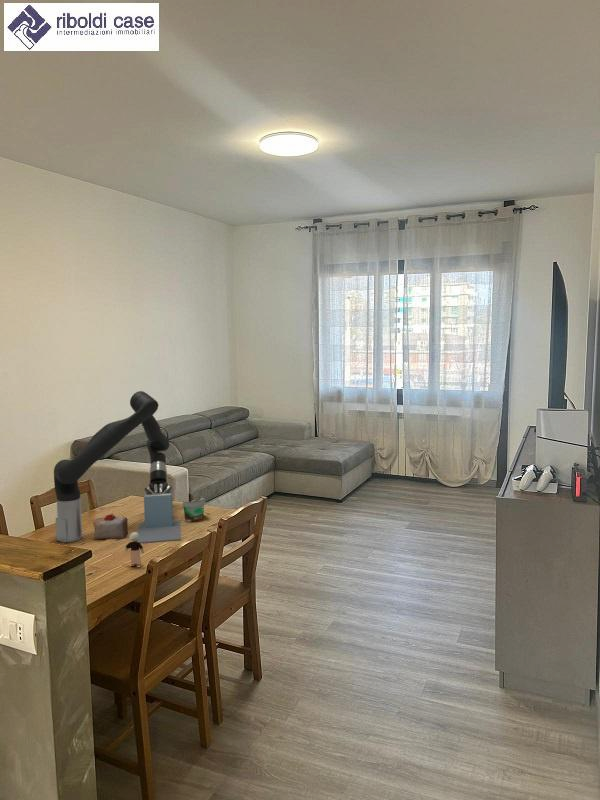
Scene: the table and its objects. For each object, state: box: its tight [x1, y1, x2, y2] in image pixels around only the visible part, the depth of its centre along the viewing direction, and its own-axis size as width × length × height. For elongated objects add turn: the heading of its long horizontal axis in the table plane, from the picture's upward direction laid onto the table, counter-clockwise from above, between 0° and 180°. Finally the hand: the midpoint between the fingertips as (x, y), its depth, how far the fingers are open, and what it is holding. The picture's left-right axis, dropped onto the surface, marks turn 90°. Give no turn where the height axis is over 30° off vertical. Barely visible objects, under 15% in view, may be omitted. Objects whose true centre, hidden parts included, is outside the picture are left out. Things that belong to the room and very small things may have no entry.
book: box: [143, 492, 174, 528], centre depth 260 cm, size 4×12×14 cm, turn 102°
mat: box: [136, 519, 182, 545], centre depth 254 cm, size 26×18×1 cm
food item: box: [92, 513, 129, 540], centre depth 248 cm, size 14×8×10 cm, turn 90°
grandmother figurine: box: [124, 531, 145, 567], centre depth 216 cm, size 8×4×13 cm, turn 88°
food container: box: [182, 495, 206, 523], centre depth 269 cm, size 12×6×10 cm, turn 146°
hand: (158, 506), depth 263 cm, fingers closed
